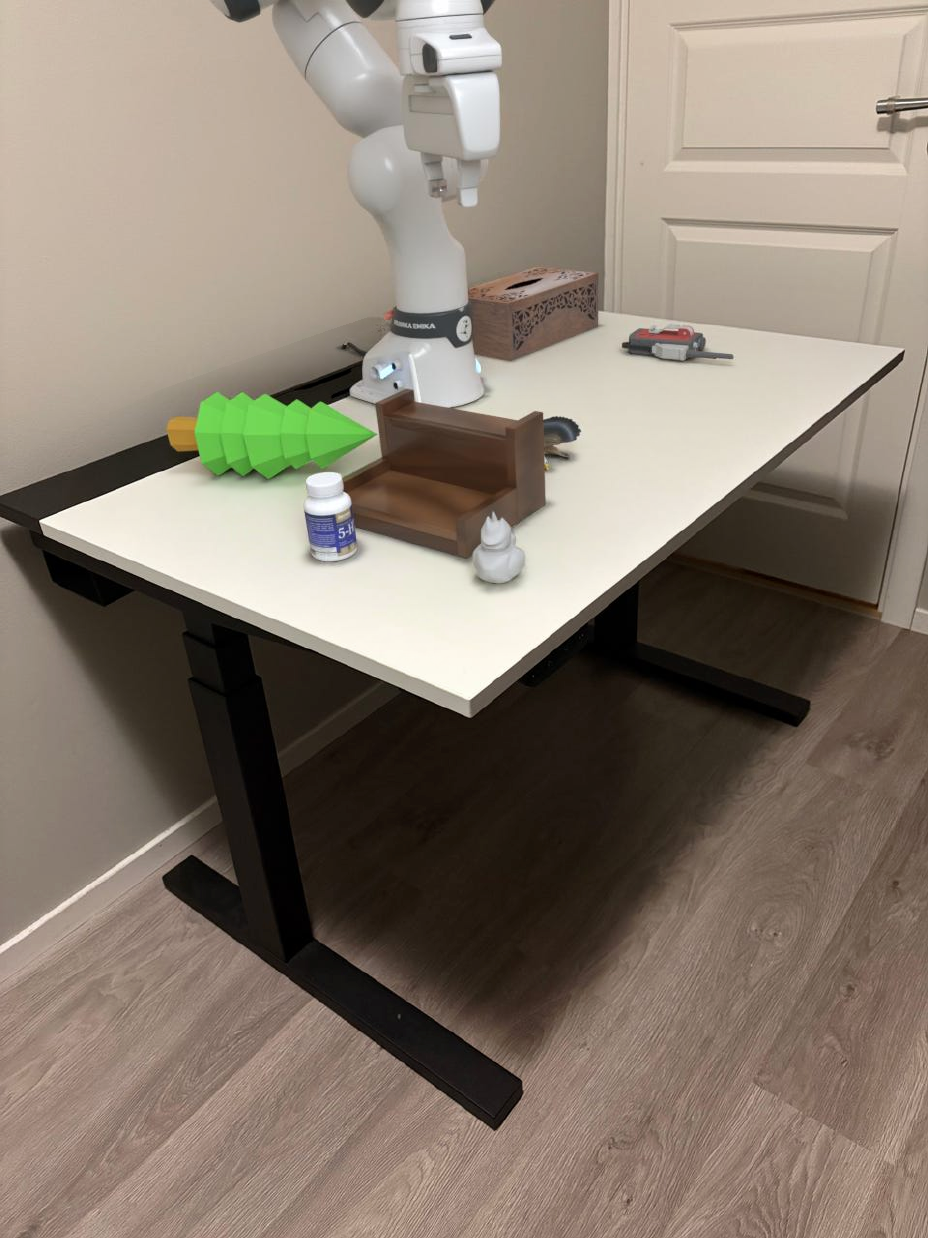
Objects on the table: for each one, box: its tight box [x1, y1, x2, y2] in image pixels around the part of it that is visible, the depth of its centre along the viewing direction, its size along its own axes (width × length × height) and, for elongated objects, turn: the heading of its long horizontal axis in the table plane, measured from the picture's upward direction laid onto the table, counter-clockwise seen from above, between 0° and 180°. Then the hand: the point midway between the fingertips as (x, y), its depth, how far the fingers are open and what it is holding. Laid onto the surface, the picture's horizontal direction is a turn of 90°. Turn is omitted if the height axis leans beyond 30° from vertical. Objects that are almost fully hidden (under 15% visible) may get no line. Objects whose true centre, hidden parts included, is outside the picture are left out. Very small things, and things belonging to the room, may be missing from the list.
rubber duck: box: [471, 512, 526, 584], centre depth 97 cm, size 5×7×8 cm
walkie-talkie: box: [621, 323, 734, 362], centre depth 160 cm, size 9×4×20 cm
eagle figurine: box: [543, 415, 582, 471], centre depth 123 cm, size 8×7×9 cm
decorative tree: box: [165, 391, 378, 480], centre depth 126 cm, size 11×12×30 cm
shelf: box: [342, 389, 547, 559], centre depth 111 cm, size 16×20×12 cm
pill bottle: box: [303, 471, 358, 562], centre depth 105 cm, size 5×5×9 cm
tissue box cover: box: [468, 265, 599, 362], centre depth 175 cm, size 26×14×10 cm, turn 137°
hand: (452, 201), depth 102 cm, fingers open, 8 cm apart
